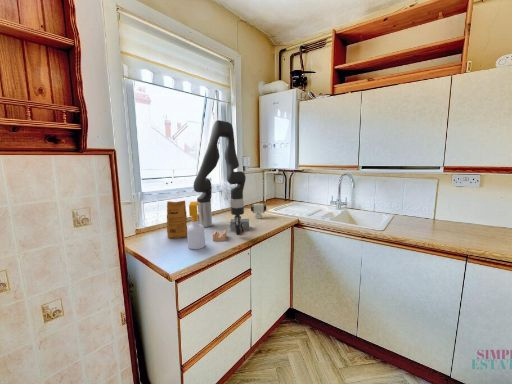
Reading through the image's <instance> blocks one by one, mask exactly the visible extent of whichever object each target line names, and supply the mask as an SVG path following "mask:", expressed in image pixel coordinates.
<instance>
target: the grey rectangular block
mask: <svg viewBox="0 0 512 384" xmlns="http://www.w3.org/2000/svg"><path fill="white" fill-rule="evenodd" d="M229 224H230V225H229V226H230V232H236V228H235V221H234V218H231V219H230V221H229ZM241 224H243V226H242V232H243V231H245V232H246V231H248V232H249V231H250V218H241Z"/></svg>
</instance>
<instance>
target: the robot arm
mask: <svg viewBox="0 0 512 384" xmlns="http://www.w3.org/2000/svg"><path fill="white" fill-rule="evenodd" d="M220 137H222V138H225V140H226V148H225V152H224V160H225V163H226V180H227V182H228V184H230V185H236V186H235V187H233V188H231V190H230V214H231V215H233V216H234V217H233V219H234V221H235V228H236V231H235V234H236V235H238V236H239V235H241V234H240V225H241V219H242V216H241V215H244V214H245V204H244V202H245V201H244V188H245V183H246V174H245V172H244V171H234V170H237V169H238V168H239V167H240V163H239V160H238V159H239V158H238V156H237V155H238V154H237V153H236V152H237V151H236V144H235V143H236V142H235V133H234V127H233V124H232V123H231V122H229V121H224V120H215V121H214V123H213V124H212V128H211V132H210V137H209V141H208V144H207V147H206V151H205V152H204V156H203V159H202V162H201V166H200V168H199V170H198V172H197V175H196V177H195V179H194V181H193V190H194V192H196V193H201V194H200V195H199V196H198V197H196V198H197V199H196V202H198V205H197V214H199V215H198V216H197V219H198V223H199V224H200V225H202V226H203V227H204V228H208V227H211V226H213V218H212V217H213V215H212V193H213V192H212V188H213V187H212V186H213V185H212V182H211V179H209V178H208V176H209V175H210V174H211V172H213V171H214V170H215V168H216V167H217V165H218V162H219V160H220V151H219V147H218V143H219V140H220Z"/></svg>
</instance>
